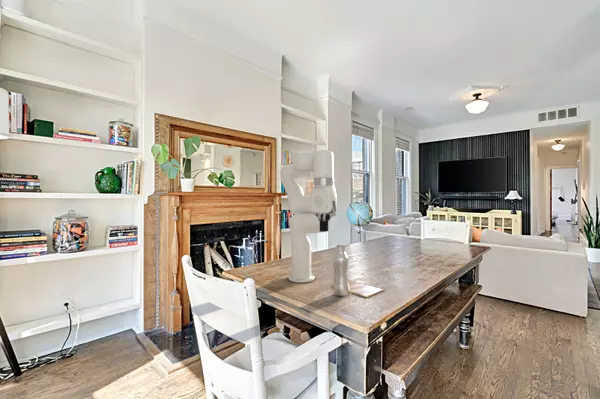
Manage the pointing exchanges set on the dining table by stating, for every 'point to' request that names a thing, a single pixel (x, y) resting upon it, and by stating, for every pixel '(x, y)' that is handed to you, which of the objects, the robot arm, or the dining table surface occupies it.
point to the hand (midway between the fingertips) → (324, 231)
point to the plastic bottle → (340, 271)
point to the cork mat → (362, 289)
